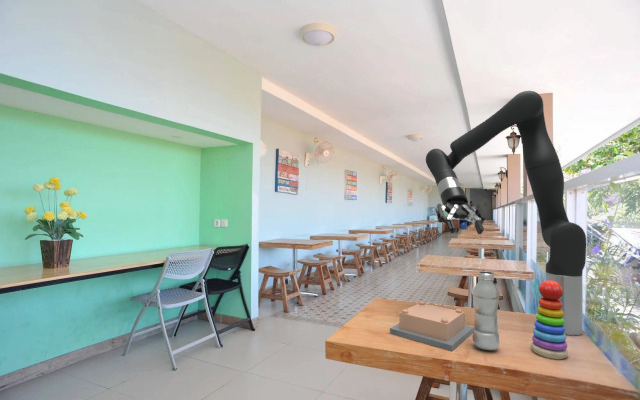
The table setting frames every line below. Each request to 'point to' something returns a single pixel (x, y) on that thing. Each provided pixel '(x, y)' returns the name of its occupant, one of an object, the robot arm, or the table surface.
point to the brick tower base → (434, 340)
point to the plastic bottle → (486, 312)
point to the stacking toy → (550, 323)
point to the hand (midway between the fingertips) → (467, 232)
